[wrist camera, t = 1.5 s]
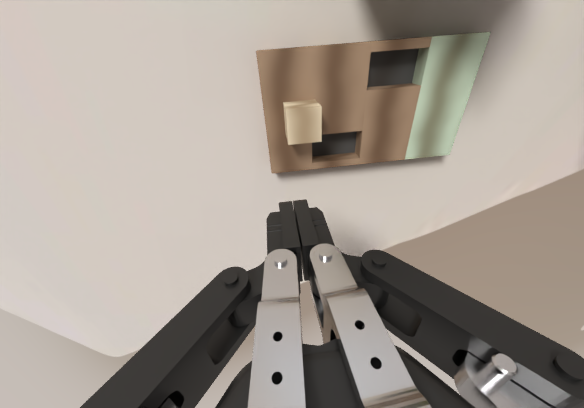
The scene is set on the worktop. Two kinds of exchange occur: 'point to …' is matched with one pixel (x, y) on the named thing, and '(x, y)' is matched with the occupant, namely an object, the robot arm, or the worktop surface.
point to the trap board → (370, 98)
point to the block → (303, 121)
